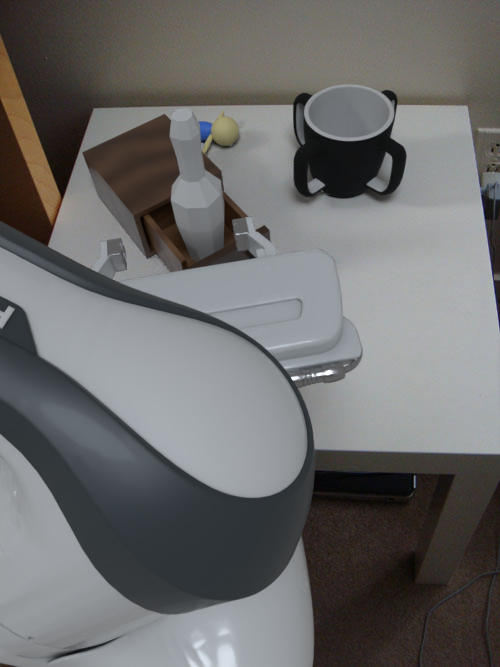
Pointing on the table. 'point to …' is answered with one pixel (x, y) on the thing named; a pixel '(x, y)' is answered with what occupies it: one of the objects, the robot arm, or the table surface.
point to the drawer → (173, 249)
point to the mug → (346, 141)
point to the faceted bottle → (195, 190)
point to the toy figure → (219, 131)
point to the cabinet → (138, 175)
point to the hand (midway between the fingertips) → (178, 234)
